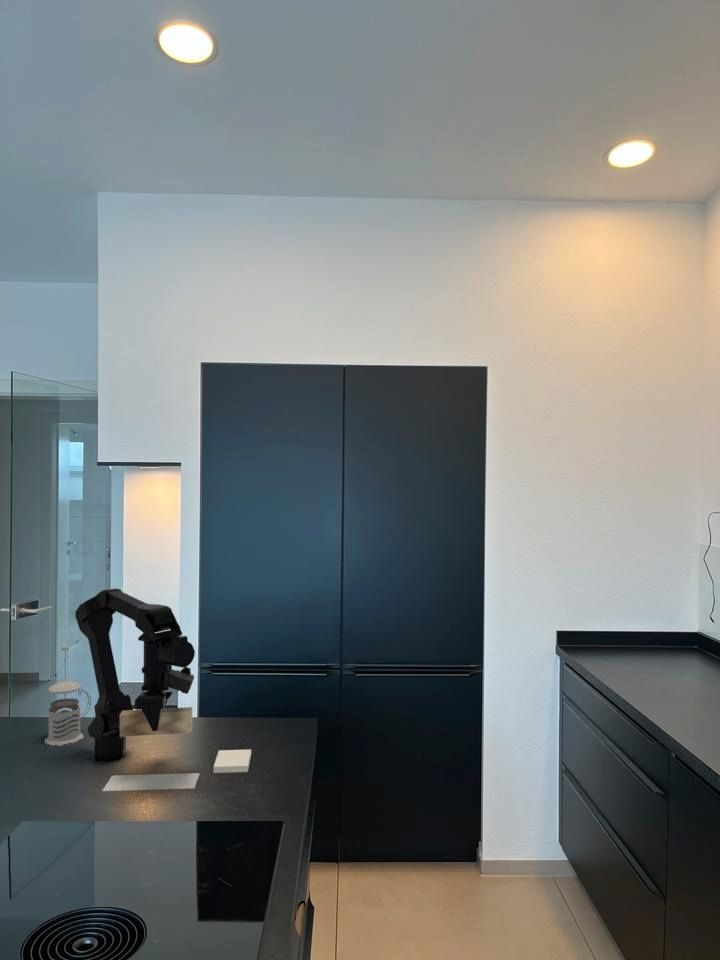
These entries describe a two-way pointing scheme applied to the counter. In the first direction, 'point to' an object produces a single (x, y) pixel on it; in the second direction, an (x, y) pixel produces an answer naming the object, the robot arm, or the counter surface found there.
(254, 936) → the counter surface
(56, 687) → the french press
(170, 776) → the mat
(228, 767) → the glazed tile
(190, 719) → the beige rectangular block
